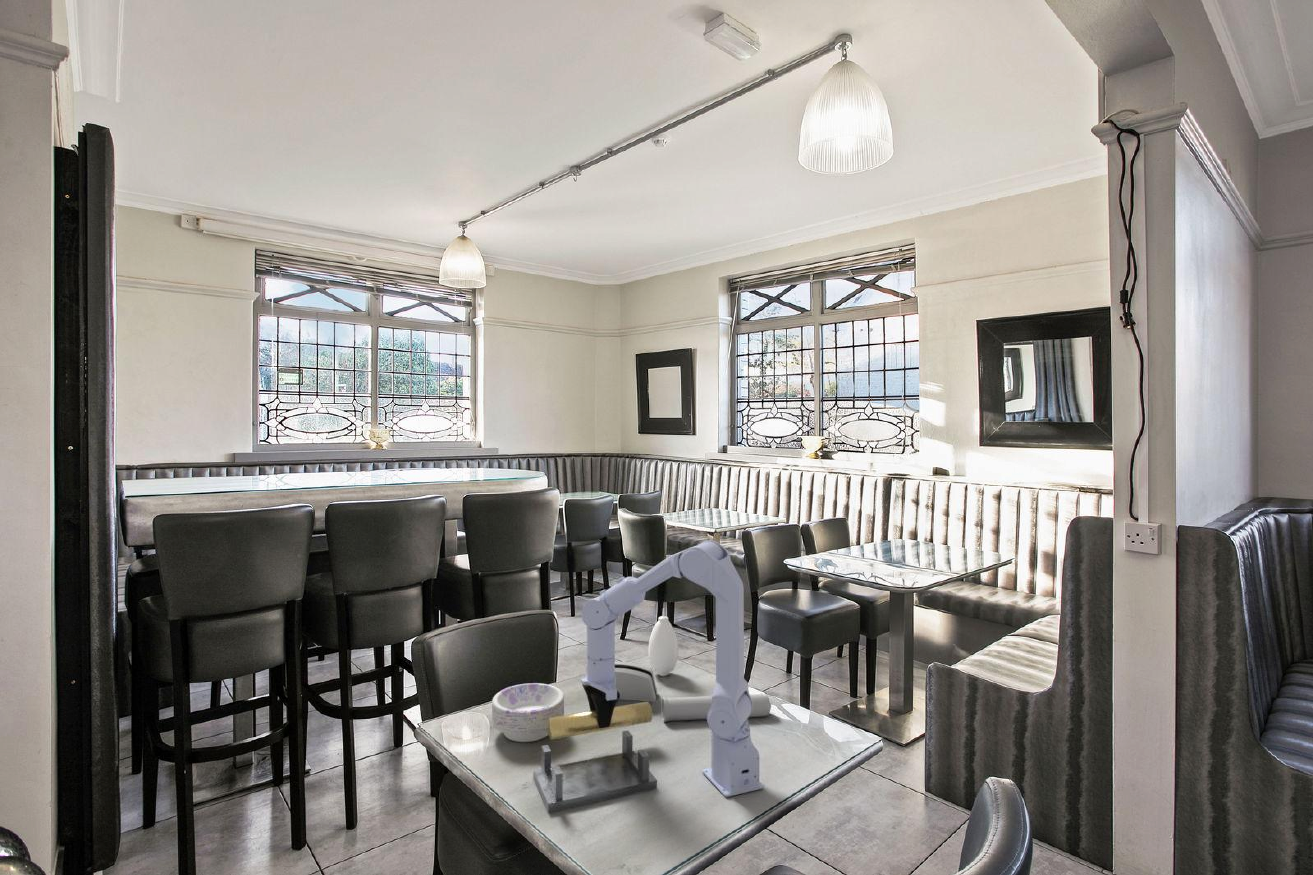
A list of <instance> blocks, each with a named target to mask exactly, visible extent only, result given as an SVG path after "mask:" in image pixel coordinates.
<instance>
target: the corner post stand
mask: <svg viewBox="0 0 1313 875" xmlns="http://www.w3.org/2000/svg"><path fill="white" fill-rule="evenodd" d="M621 736H622V737H621V738H622V739H621V742H622V744H621V745H622V747H621V750H622V751H621V753H615V754H610V755H604V756H599V757H594V758H590V759H589V758H588V759H583V760H580V761H579V760H578V761H575V762H569V763H564V764H563V763H562V764H558V765H552V751H551V749H550V746H549V745H548V744H545V745H541V746H540V747H541V750H540V751H541V755H540V756H541V759H540V760H541V761H540V762H541V763H540V764H541V766H540V768H539V769H533V770H532V771H533V772H532V774H533V775H532V778H533V781H534V784H535V786H536V788H537V790H538V792H539V794H540V797H541V799H542V801H543V803H544V806H545V809H546V811H547V812H548V813H553V812H558V811H562V810H567V809H571V808H572V809H573V808H575V807H580V806H585V805H589V804H593V803H594V804H595V803H599V802H602V801H607V800H612V799H616V798H621V797H625V796H629V795H630V796H631V795H633V794H634V795H635V794H640V793H644V792H649V791H653V790H657V789H658V780H657V779H656V777H655V776H654V774H653V773H652V772H651V771H650V754H648V752H646V751H645V749H642V750H637V752H635V751H634V748H633V743H634V742H633V734H632V733H631V732H630V731H629V730H624V731H622V734H621Z"/></svg>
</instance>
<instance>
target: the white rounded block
mask: <svg viewBox="0 0 1313 875" xmlns="http://www.w3.org/2000/svg"><path fill="white" fill-rule="evenodd" d="M653 671H654V670H653V668H650V667H648V666H645V665H642V664H638V663H633V662H628V661H627V662H625V661H615V676H616V685H615V687H616V689H617V691H618V692H619V693H620V698H619V699H618V700H622V701H623V700H624V701H637V700H643V701H642V702H656V700H657V696H658V688H657V685H656V681H655V676H654V672H653Z"/></svg>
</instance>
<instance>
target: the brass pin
mask: <svg viewBox="0 0 1313 875" xmlns="http://www.w3.org/2000/svg"><path fill="white" fill-rule="evenodd" d="M652 710H653V709H652V706H651V704H650V701H641V702H637V703H632V704H626V705H625V704H624V705H620V706H619V705H618V706H615V707H614V710H613V714H612V719H611V723H610V726H609V727H606V728H599V726H598V722H597V714H596V710H594V711H590V710H589V711H584V712H578V713H571V714H564V716H558V717H552V718H548V724H547V726H548V735H547V736H548V738H549V740H550V741H552V740H558V739H563V738H568V737H569V738H570V737H574V736H575V737H576V736H582V735H585V734H591V733H597V732H603V731H607V730H614V729H618V728H624V727H625V728H626V727H630V726H635V725H641V724H646V723H651V722H652V720H653V711H652Z"/></svg>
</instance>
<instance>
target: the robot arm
mask: <svg viewBox="0 0 1313 875" xmlns="http://www.w3.org/2000/svg"><path fill="white" fill-rule="evenodd" d="M673 577H675V578H678V579H682V578H686V579H687V580H689V581H691V582H692V583H695V584H696V585H699V586H701V587H703V588H705V589H706V590H707V591H708V592H709V593H711V594H712V596H714V597H715V677H716V678H715V685H714V688H713V692H712V695H711V696H712V705H711V708H710V710H709V712H708V714H707V719H706V722H707V726H708V728H709V730H710V731H711V732H710V733H711V735H710V737H711V739H710V747H711V748H710V752H711V753H710V760H711V761H710V767H709V768H708V767H707V768H704V769H702V774H704V776H705V777H707V779H708V780H709V781H710V782H711V783H712V784H713V785H714V786H715V788H716V789H717V790H718V791H719V792H720V793H721V794H722V795H723V796H724V797H732V796H736V795H739V794H744V793H750V792H753V791H758V790H761V789H764V784H763V783H762V782H761V781H760V753H759V750H758V749H757V747H756V746H755V745H754V743H753V742H752V738H751V728H750V723H749V721H748V718H750V717H749V716H750V715H751V713H752V711H753V701H752V698H751V696H750V695H751V694H750V691H749V682H748V681H747V680H746V679H745V650H744V649H745V642H744V641H745V635H744V634H745V633H744V632H745V625H744V624H745V621H744V620H745V618H744V616H745V615H744V613H745V610H744V609H745V607H744V606H745V605H744V604H745V602H744V598H745V596H744V594H745V593H744V592H745V591H744V589H745V588H744V582H743V580H742V579H741V577H740V575H739V572H738V571H737V569H736V567H735V565H734V563H733V562H732V559H731V554H730V551H729V550H728V549H726V548H725V547H724V546H723V545H721V544H720V542H717V541H715V540H713V539H712V540H711V539H710V540H704V541H702V542H700V543H699V544H697V545H694V546H692V547H691V546H690V547H688V548H686V549H684V550H682V551H679V552H677V553H674V554H672V555H670V556H668V557H667V558H665V559H663V560H662V561H661V562H659V563H657V564H656V565H655V566H653V567H652V568H651V569H649V570H647V571H646V572H644V573H643V574H641V576H639V577H638V578H636V577H634V576H627V577H625V576H622V577H620V578H618V579H617V580H616V584H615V585H612V586H611V587H610V588H608V589H603V590H601V591H599V596H597V597H595V598H590V599H588V600H587V602H585V603H584V605H583V606H582V607H581V612H580V613H581V614H580V615H581V619H582V621H583V623H584V625H585V626H586V666H585V677H582V678H580V683H581V685H582V687H583V690H584V691H585V694H586V698H587V701H588V706H589V711H594V710H596V714H597V722H598V726H599V728H606V727H609V726H610V723H611V719H612V714H613V710H614V707H616V705H617V703H618V701H619V700H620V699H619V698H620V693H619V692H618V691H617V689H616V687H615V685H616V676H615V662H616V658H615V657H616V655H615V654H616V653H615V652H616V651H615V650H616V649H615V648H616V645H615V644H616V643H615V641H616V638H615V635H616V633H615V632H616V621H617V620H618V618H619V617H621V616H622V615H624V614H626V613H627V612H629V611H630V610H632V609H634V608H635V607H637V606H639V605H640V604H642V603H643V602H644V600H645V597H646V592H648V591H649V590H651V589H653V588H655V587H657V586H658V585H660V584H662V583H663V582H665V581H667V580H668V579H670V578H673Z"/></svg>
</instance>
